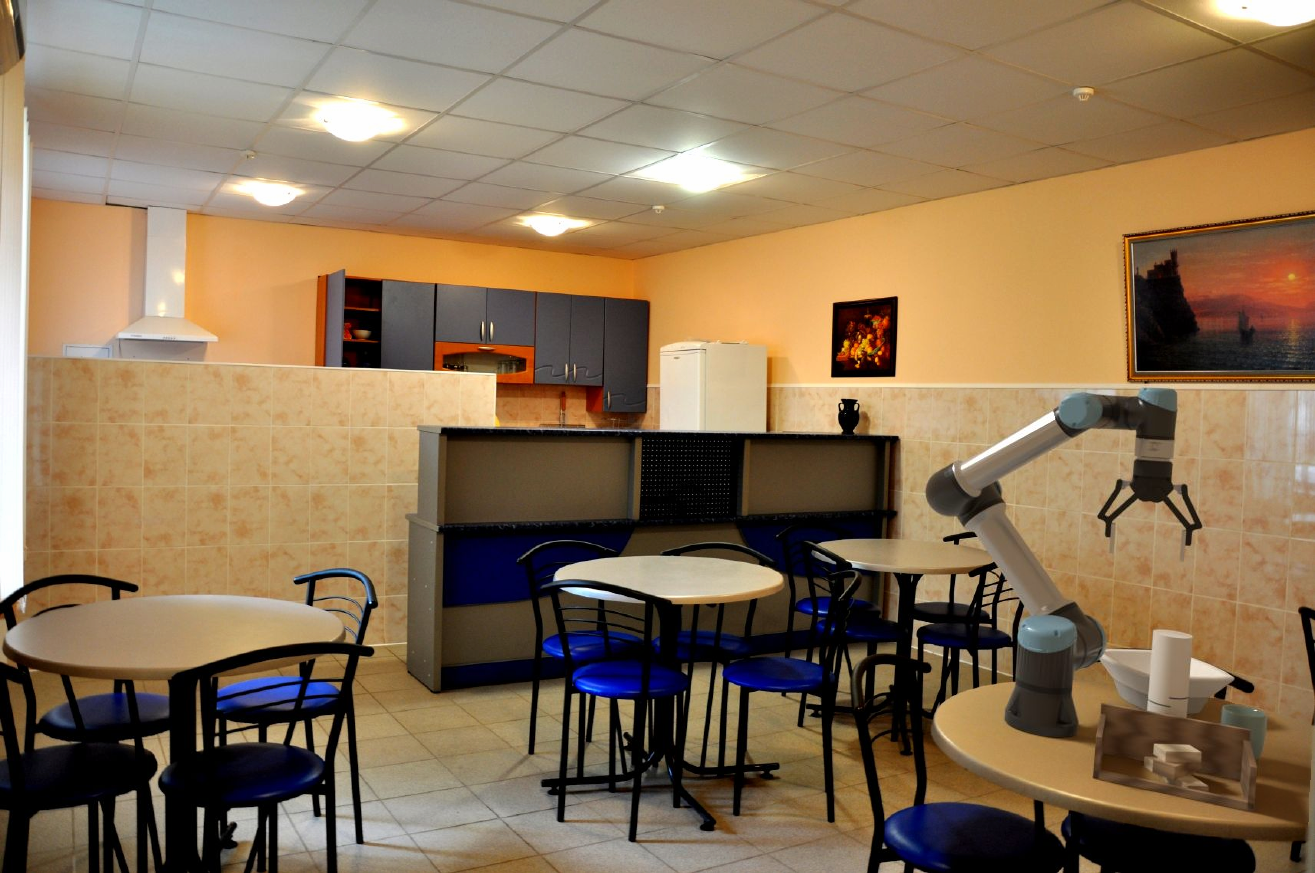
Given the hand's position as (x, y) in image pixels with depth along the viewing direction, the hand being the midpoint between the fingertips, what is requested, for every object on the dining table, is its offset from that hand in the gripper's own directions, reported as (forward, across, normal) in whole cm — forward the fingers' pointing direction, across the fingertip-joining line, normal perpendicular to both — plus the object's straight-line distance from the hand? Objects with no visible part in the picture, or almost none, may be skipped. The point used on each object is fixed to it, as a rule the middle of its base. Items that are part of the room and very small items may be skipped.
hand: (1145, 556), depth 207 cm
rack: (+39, +7, -26) cm, 47 cm away
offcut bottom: (+39, +8, -26) cm, 48 cm away
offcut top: (+34, +8, -27) cm, 44 cm away
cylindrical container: (+39, +6, -11) cm, 41 cm away
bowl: (+39, +5, +27) cm, 48 cm away
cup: (+39, +20, -4) cm, 44 cm away
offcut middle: (+37, +8, -26) cm, 46 cm away
